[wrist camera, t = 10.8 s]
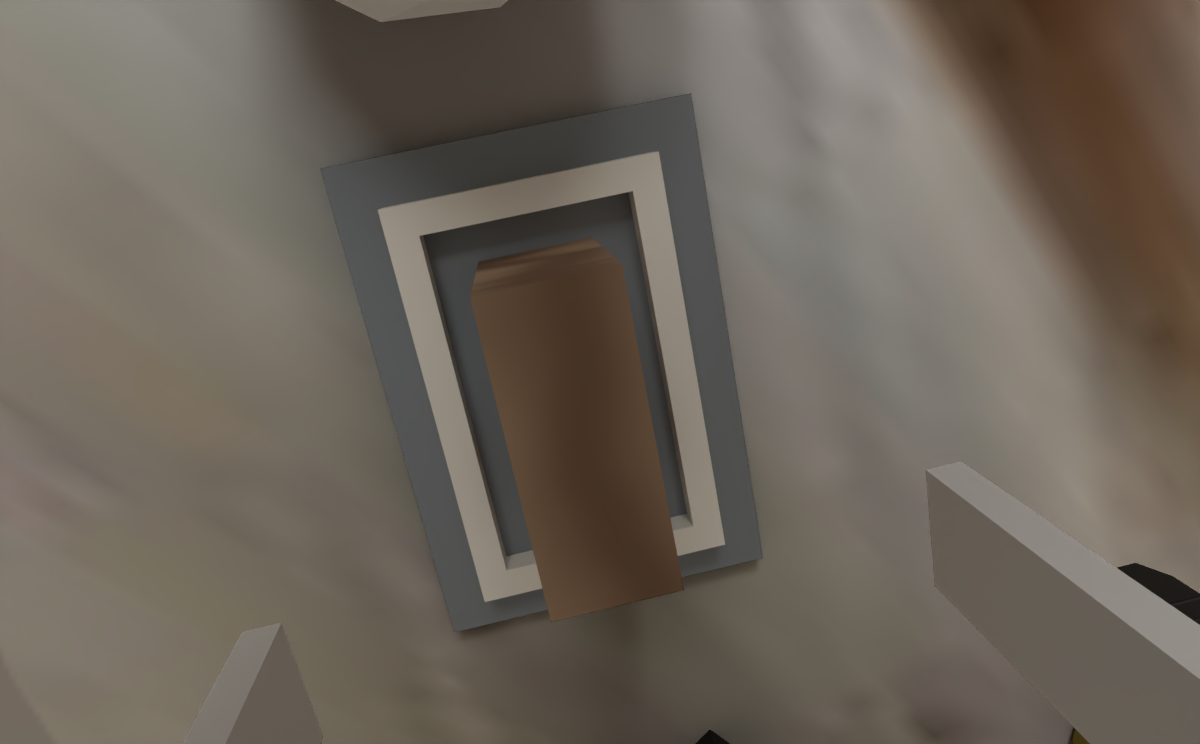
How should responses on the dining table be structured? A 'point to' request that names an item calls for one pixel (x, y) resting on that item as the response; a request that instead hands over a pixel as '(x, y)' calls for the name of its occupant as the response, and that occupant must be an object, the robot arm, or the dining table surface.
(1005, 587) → the robot arm
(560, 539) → the walnut block
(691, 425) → the grey flat frame
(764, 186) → the dining table surface
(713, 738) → the digital camera
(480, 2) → the geodesic sphere
